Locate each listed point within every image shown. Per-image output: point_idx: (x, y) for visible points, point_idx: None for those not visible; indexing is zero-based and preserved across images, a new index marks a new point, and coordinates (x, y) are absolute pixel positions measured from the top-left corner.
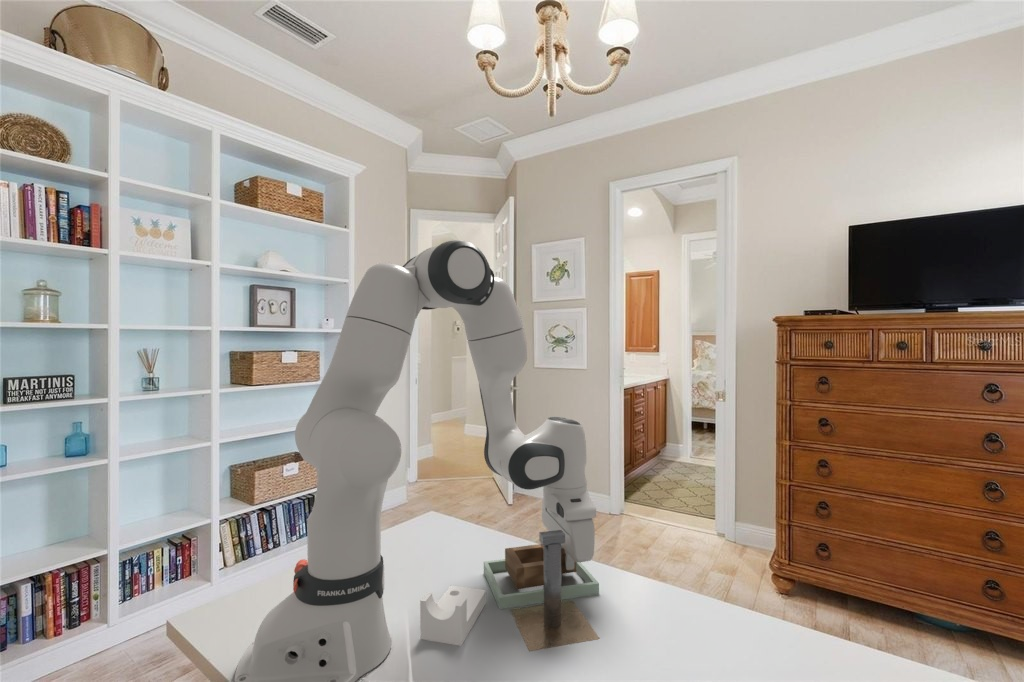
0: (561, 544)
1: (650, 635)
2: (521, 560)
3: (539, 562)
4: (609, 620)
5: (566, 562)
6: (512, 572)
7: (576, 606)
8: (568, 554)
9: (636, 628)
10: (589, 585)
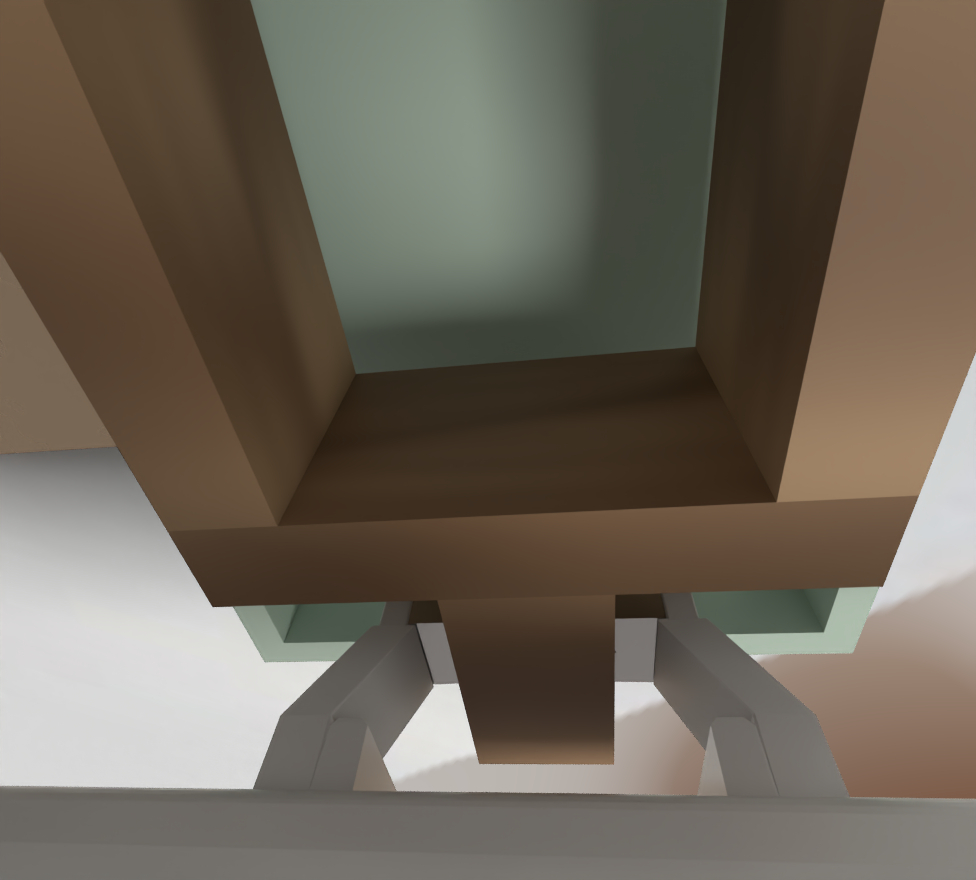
0: (291, 837)
1: (4, 649)
2: (775, 33)
3: (154, 342)
4: (78, 554)
5: (383, 619)
6: None
7: (98, 445)
8: (279, 738)
9: (42, 626)
10: (238, 609)
